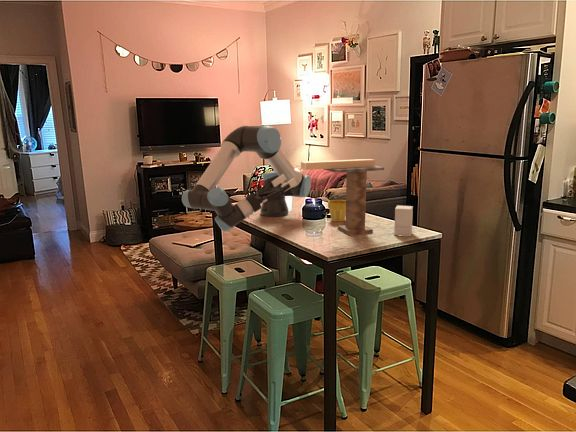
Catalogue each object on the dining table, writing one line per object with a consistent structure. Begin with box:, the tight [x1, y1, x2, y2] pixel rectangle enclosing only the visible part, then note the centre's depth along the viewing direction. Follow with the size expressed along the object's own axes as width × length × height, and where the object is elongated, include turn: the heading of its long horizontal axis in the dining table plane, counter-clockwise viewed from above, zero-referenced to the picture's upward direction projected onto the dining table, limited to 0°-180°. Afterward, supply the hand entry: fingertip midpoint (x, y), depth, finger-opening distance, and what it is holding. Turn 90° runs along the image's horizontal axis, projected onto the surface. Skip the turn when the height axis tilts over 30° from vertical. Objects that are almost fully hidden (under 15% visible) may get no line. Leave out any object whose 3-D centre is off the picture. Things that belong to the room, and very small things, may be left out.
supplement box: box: [393, 204, 414, 237], centre depth 217 cm, size 7×7×13 cm
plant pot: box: [327, 199, 346, 223], centre depth 245 cm, size 10×10×10 cm
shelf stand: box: [323, 165, 385, 236], centre depth 221 cm, size 24×14×30 cm, turn 109°
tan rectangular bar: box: [300, 158, 376, 171], centre depth 215 cm, size 34×5×3 cm, turn 109°
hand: (290, 178), depth 208 cm, fingers open, 13 cm apart
